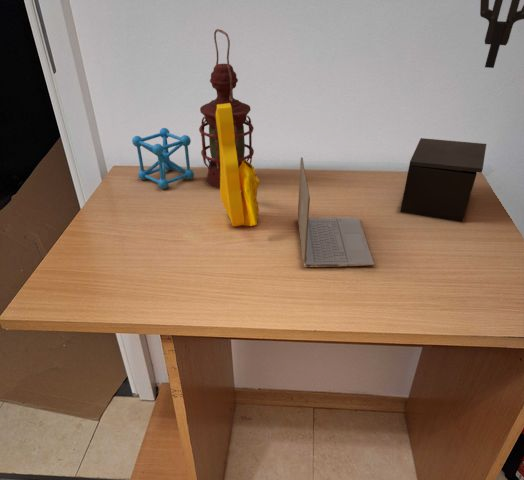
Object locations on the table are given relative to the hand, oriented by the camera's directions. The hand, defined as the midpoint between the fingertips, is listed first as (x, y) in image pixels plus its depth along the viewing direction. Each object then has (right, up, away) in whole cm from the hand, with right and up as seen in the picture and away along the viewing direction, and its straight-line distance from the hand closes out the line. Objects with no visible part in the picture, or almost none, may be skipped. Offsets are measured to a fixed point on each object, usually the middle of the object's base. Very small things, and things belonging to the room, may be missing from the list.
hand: (489, 65), depth 86 cm
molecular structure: (-64, -10, +29) cm, 70 cm away
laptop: (-27, -31, +6) cm, 41 cm away
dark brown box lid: (-3, -11, +12) cm, 17 cm away
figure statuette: (-45, -25, +13) cm, 53 cm away
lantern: (-49, -11, +28) cm, 57 cm away
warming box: (-3, -19, +18) cm, 27 cm away
